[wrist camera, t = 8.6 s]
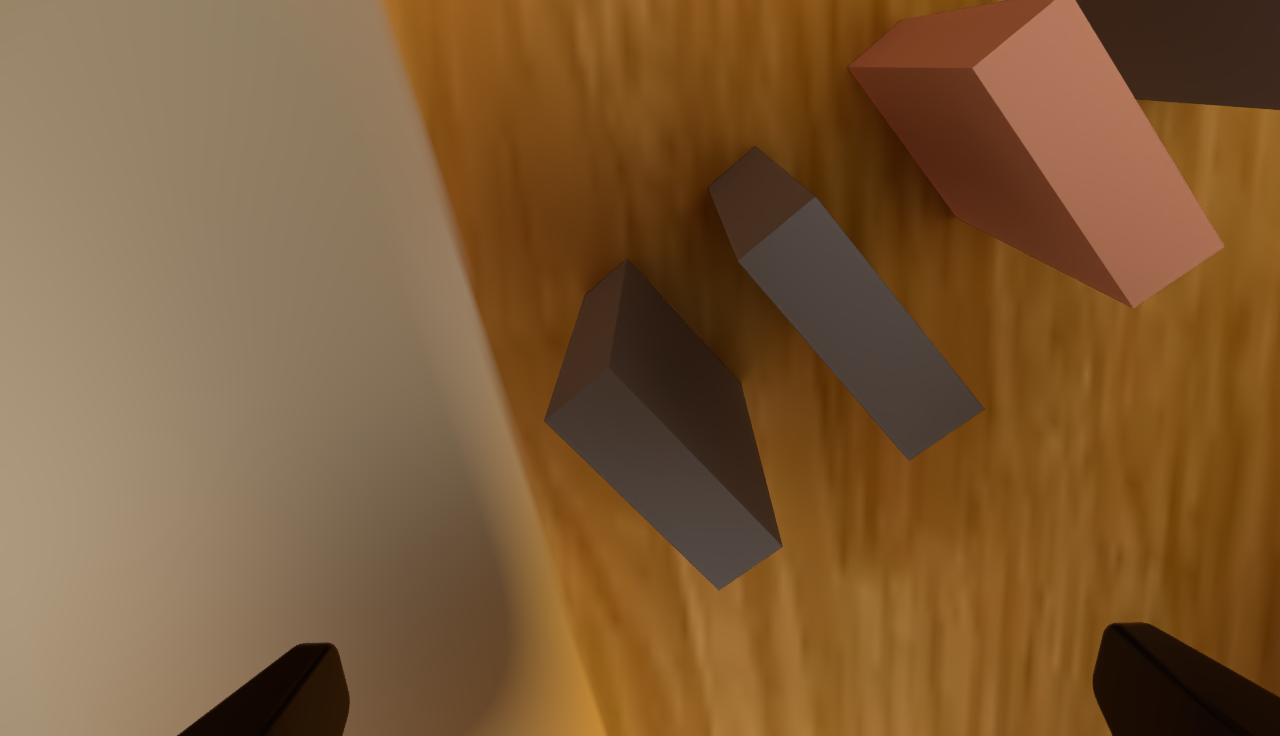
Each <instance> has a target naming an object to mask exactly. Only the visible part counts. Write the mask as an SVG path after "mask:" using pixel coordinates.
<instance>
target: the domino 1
mask: <svg viewBox="0 0 1280 736" xmlns="http://www.w3.org/2000/svg"><path fill="white" fill-rule="evenodd" d="M544 421H545V422H546V423H547V424H548V425H549V426H550V427H551V428H552V429H553V430H554V431H555V432H556V433H557V434H558V435H559V436H560V437H561V438H562V439H563V440H564V441H565V442H566V443H567V444H568V445H569V446H570V447H571V448H573V449H574V450H575V451H576V452H577V453H578V454H579V455H580V456H581V457H582V458H583V459H584V460H585V461H586V462H587V463H588V464H589V465H590V466H591V467H592V468H593V469H594V470H595V471H596V472H597V473H598V474H599V475H600V476H601V477H602V478H603V479H605V480H606V481H607V482H608V483H609V484H610V485H611V486H612V487H613V488H614V489H615V490H616V491H617V492H618V493H619V494H620V495H621V496H622V497H623V498H624V499H625V500H626V501H627V502H628V503H629V504H630V505H631V506H632V507H633V508H634V509H635V510H637V511H638V512H639V513H640V514H641V515H642V516H643V517H644V518H645V519H646V520H647V521H648V522H649V523H650V524H651V525H652V526H653V527H654V528H655V529H656V530H657V531H658V532H659V533H660V534H661V535H662V536H663V537H664V538H665V539H666V540H667V541H669V542H670V543H671V544H672V545H673V546H674V547H675V548H676V549H677V550H678V551H679V552H680V553H681V554H682V555H683V556H684V557H685V558H686V559H687V560H688V561H689V562H690V563H691V564H692V565H693V566H694V567H695V568H696V569H697V570H698V571H699V572H700V573H702V574H703V575H704V576H705V577H706V578H707V579H708V580H709V581H710V582H711V583H712V584H713V585H714V586H715V587H716V588H717V589H718V590H720V589H722V588H723V587H725V586H726V585H728V584H729V583H730V582H732V581H733V580H735V579H736V578H738V577H739V576H741V575H742V574H744V573H745V572H747V571H748V570H749V569H751V568H752V567H754V566H755V565H757V564H758V563H760V562H761V561H763V560H764V559H766V558H767V557H768V556H770V555H771V554H773V553H774V552H776V551H777V550H779V549H780V548H782V547H783V546H782V542H781V538H780V534H779V530H778V527H777V523H776V519H775V515H774V511H773V507H772V503H771V499H770V495H769V491H768V488H767V484H766V480H765V476H764V472H763V468H762V464H761V460H760V456H759V452H758V449H757V445H756V441H755V437H754V433H753V429H752V425H751V421H750V417H749V413H748V410H747V406H746V402H745V398H744V394H743V390H742V386H741V383H740V382H739V381H738V380H737V379H736V378H735V377H734V376H733V374H732V373H731V372H730V371H729V370H728V369H727V368H726V367H725V366H724V365H723V364H722V362H721V361H720V360H719V359H718V358H717V357H716V356H715V355H714V354H713V353H712V351H711V350H710V349H709V348H708V347H707V346H706V345H705V344H704V343H703V342H702V340H701V339H700V338H699V337H698V336H697V335H696V334H695V333H694V332H693V331H692V329H691V328H690V327H689V326H688V325H687V324H686V323H685V322H684V321H683V320H682V318H681V317H680V316H679V315H678V314H677V313H676V312H675V311H674V310H673V309H672V307H671V306H670V305H669V304H668V303H667V302H666V301H665V300H664V299H663V298H662V296H661V295H660V294H659V293H658V292H657V291H656V290H655V289H654V288H653V287H652V285H651V284H650V283H649V282H648V281H647V280H646V279H645V278H644V277H643V276H642V275H641V273H640V272H639V271H638V270H637V269H636V268H635V267H634V266H633V265H632V264H631V262H630V261H629V260H628V259H626V260H625V261H623V262H622V263H621V264H620V265H619V266H618V267H617V268H615V269H614V270H613V271H612V272H611V273H610V274H609V275H607V276H606V277H605V278H604V279H603V280H602V281H601V282H599V283H598V284H597V285H596V286H595V287H594V288H593V289H591V290H590V291H589V292H588V293H587V294H586V295H585V296H584V299H583V302H582V306H581V309H580V312H579V315H578V318H577V321H576V324H575V327H574V330H573V333H572V336H571V340H570V343H569V346H568V349H567V352H566V355H565V358H564V361H563V364H562V367H561V370H560V374H559V377H558V380H557V383H556V386H555V389H554V392H553V395H552V398H551V401H550V404H549V408H548V411H547V414H546V417H545V420H544Z"/></svg>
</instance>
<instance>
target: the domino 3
mask: <svg viewBox="0 0 1280 736" xmlns="http://www.w3.org/2000/svg"><path fill="white" fill-rule="evenodd" d="M847 68H848V69H849V70H850V72H851V73H852V74H853V76H854V77H855V79H856V80H857V81H858V83H859V84H860V85H861V87H862V88H863V90H864V91H865V92H866V94H867V95H868V96H869V98H870V99H871V101H872V102H873V103H874V105H875V106H876V107H877V109H878V110H879V112H880V113H881V114H882V116H883V117H884V119H885V120H886V121H887V123H888V124H889V125H890V127H891V128H892V130H893V131H894V132H895V134H896V135H897V136H898V138H899V139H900V141H901V142H902V143H903V145H904V146H905V147H906V149H907V150H908V152H909V153H910V154H911V156H912V157H913V158H914V160H915V161H916V163H917V164H918V165H919V167H920V168H921V169H922V171H923V172H924V174H925V175H926V176H927V178H928V179H929V180H930V182H931V183H932V185H933V186H934V187H935V189H936V190H937V191H938V193H939V194H940V196H941V197H942V198H943V200H944V201H945V202H946V204H947V205H948V207H949V208H950V209H951V211H952V212H953V214H954V215H955V216H956V218H958V219H960V220H962V221H963V222H965V223H967V224H969V225H971V226H973V227H975V228H977V229H979V230H981V231H983V232H985V233H987V234H989V235H991V236H993V237H995V238H997V239H999V240H1001V241H1003V242H1005V243H1006V244H1008V245H1010V246H1012V247H1014V248H1016V249H1018V250H1020V251H1022V252H1024V253H1026V254H1028V255H1030V256H1032V257H1034V258H1036V259H1038V260H1040V261H1042V262H1044V263H1046V264H1048V265H1049V266H1051V267H1053V268H1055V269H1057V270H1059V271H1061V272H1063V273H1065V274H1067V275H1069V276H1071V277H1073V278H1075V279H1077V280H1079V281H1081V282H1083V283H1085V284H1087V285H1089V286H1091V287H1092V288H1094V289H1096V290H1098V291H1100V292H1102V293H1104V294H1106V295H1108V296H1110V297H1112V298H1114V299H1116V300H1118V301H1120V302H1122V303H1124V304H1126V305H1128V306H1130V307H1132V308H1135V307H1137V306H1138V305H1140V304H1141V303H1143V302H1144V301H1145V300H1147V299H1148V298H1150V297H1151V296H1153V295H1154V294H1156V293H1157V292H1159V291H1160V290H1162V289H1163V288H1165V287H1166V286H1168V285H1169V284H1171V283H1172V282H1173V281H1175V280H1176V279H1178V278H1179V277H1181V276H1182V275H1184V274H1185V273H1187V272H1188V271H1190V270H1191V269H1193V268H1194V267H1196V266H1197V265H1199V264H1200V263H1201V262H1203V261H1204V260H1206V259H1207V258H1209V257H1210V256H1212V255H1213V254H1215V253H1216V252H1218V251H1219V250H1221V249H1222V248H1224V247H1225V246H1224V244H1223V243H1222V241H1221V239H1220V238H1219V236H1218V235H1217V233H1216V231H1215V230H1214V228H1213V226H1212V225H1211V223H1210V221H1209V220H1208V218H1207V216H1206V215H1205V213H1204V211H1203V210H1202V208H1201V206H1200V205H1199V203H1198V202H1197V200H1196V198H1195V197H1194V195H1193V193H1192V192H1191V190H1190V188H1189V187H1188V185H1187V183H1186V182H1185V180H1184V178H1183V177H1182V175H1181V174H1180V172H1179V170H1178V169H1177V167H1176V165H1175V164H1174V162H1173V160H1172V159H1171V157H1170V155H1169V154H1168V152H1167V150H1166V149H1165V147H1164V145H1163V144H1162V142H1161V141H1160V139H1159V137H1158V136H1157V134H1156V132H1155V131H1154V129H1153V127H1152V126H1151V124H1150V122H1149V121H1148V119H1147V117H1146V116H1145V114H1144V113H1143V111H1142V109H1141V108H1140V106H1139V104H1138V103H1137V101H1136V99H1135V98H1134V96H1133V94H1132V93H1131V91H1130V89H1129V88H1128V86H1127V84H1126V83H1125V81H1124V80H1123V78H1122V76H1121V75H1120V73H1119V71H1118V70H1117V68H1116V66H1115V65H1114V63H1113V61H1112V60H1111V58H1110V56H1109V55H1108V53H1107V52H1106V50H1105V48H1104V47H1103V45H1102V43H1101V42H1100V40H1099V38H1098V37H1097V35H1096V33H1095V32H1094V30H1093V28H1092V27H1091V25H1090V23H1089V22H1088V20H1087V19H1086V17H1085V15H1084V14H1083V12H1082V10H1081V9H1080V7H1079V5H1078V4H1077V2H1076V0H1007V1H1001V2H996V3H990V4H985V5H980V6H974V7H969V8H964V9H958V10H953V11H948V12H942V13H937V14H932V15H926V16H921V17H916V18H910V19H905V20H901V21H900V22H898V23H897V24H896V25H895V26H894V27H893V28H892V29H890V30H889V31H888V32H887V33H886V34H885V35H884V36H882V37H881V38H880V39H879V40H878V41H877V42H875V43H874V44H873V45H872V46H871V47H870V48H869V49H867V50H866V51H865V52H864V53H863V54H862V55H860V56H859V57H858V58H857V59H856V60H855V61H854V62H852V63H851V64H850V65H849V66H848V67H847Z"/></svg>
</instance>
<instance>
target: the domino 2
mask: <svg viewBox="0 0 1280 736" xmlns="http://www.w3.org/2000/svg"><path fill="white" fill-rule="evenodd" d="M708 189H709V192H710V194H711V197H712V199H713V202H714V204H715V206H716V209H717V211H718V214H719V216H720V219H721V221H722V224H723V226H724V229H725V231H726V233H727V236H728V238H729V241H730V243H731V246H732V248H733V251H734V253H735V256H736V258H737V260H738V262H739V263H740V264H741V265H742V267H743V268H744V269H745V270H746V271H747V272H748V274H749V275H750V276H751V277H752V278H753V279H754V281H755V282H756V283H757V284H758V285H759V286H760V288H761V289H762V290H763V291H764V292H765V293H766V295H767V296H768V297H769V298H770V299H771V300H772V302H773V303H774V304H775V305H776V306H777V307H778V309H779V310H780V311H781V312H782V313H783V314H784V316H785V317H786V318H787V319H788V320H789V321H790V323H791V324H792V325H793V326H794V327H795V328H796V330H797V331H798V332H799V333H800V334H801V335H802V337H803V338H804V339H805V340H806V341H807V342H808V344H809V345H810V346H811V347H812V348H813V349H814V351H815V352H816V353H817V354H818V355H819V356H820V358H821V359H822V360H823V361H824V362H825V363H826V365H827V366H828V367H829V368H830V369H831V370H832V372H833V373H834V374H835V375H836V376H837V377H838V379H839V380H840V381H841V382H842V383H843V384H844V386H845V387H846V388H847V389H848V390H849V391H850V393H851V394H852V395H853V396H854V397H855V398H856V400H857V401H858V402H859V403H860V404H861V405H862V407H863V408H864V409H865V410H866V411H867V412H868V414H869V415H870V416H871V417H872V418H873V419H874V421H875V422H876V423H877V424H878V425H879V426H880V428H881V429H882V430H883V431H884V432H885V433H886V435H887V436H888V437H889V438H890V439H891V440H892V442H893V443H894V444H895V445H896V446H897V447H898V449H899V450H900V451H901V452H902V453H903V454H904V456H905V457H906V458H907V459H908V460H909V461H910V460H911V459H912V458H914V457H915V456H917V455H918V454H920V453H921V452H923V451H924V450H926V449H927V448H929V447H930V446H931V445H933V444H934V443H936V442H937V441H939V440H940V439H942V438H943V437H945V436H946V435H947V434H949V433H950V432H952V431H953V430H955V429H956V428H958V427H959V426H961V425H962V424H964V423H965V422H966V421H968V420H969V419H971V418H972V417H974V416H975V415H977V414H978V413H980V412H981V411H983V410H984V408H983V406H982V405H981V404H980V403H979V401H978V400H977V399H976V398H975V396H974V395H973V394H972V393H971V391H970V390H969V389H968V387H967V386H966V385H965V384H964V382H963V381H962V380H961V379H960V377H959V376H958V375H957V374H956V372H955V371H954V370H953V369H952V367H951V366H950V365H949V364H948V362H947V361H946V360H945V359H944V357H943V356H942V355H941V353H940V352H939V351H938V350H937V348H936V347H935V346H934V345H933V343H932V342H931V341H930V340H929V338H928V337H927V336H926V335H925V333H924V332H923V331H922V330H921V328H920V327H919V326H918V325H917V323H916V322H915V321H914V319H913V318H912V317H911V316H910V314H909V313H908V312H907V311H906V309H905V308H904V307H903V306H902V304H901V303H900V302H899V301H898V299H897V298H896V297H895V296H894V294H893V293H892V292H891V291H890V289H889V288H888V287H887V285H886V284H885V283H884V282H883V280H882V279H881V278H880V277H879V275H878V274H877V273H876V272H875V270H874V269H873V268H872V267H871V265H870V264H869V263H868V262H867V260H866V259H865V258H864V257H863V255H862V254H861V253H860V251H859V250H858V249H857V248H856V246H855V245H854V244H853V243H852V241H851V240H850V239H849V238H848V236H847V235H846V234H845V233H844V231H843V230H842V229H841V228H840V226H839V225H838V224H837V223H836V221H835V220H834V219H833V217H832V216H831V215H830V214H829V212H828V211H827V210H826V209H825V207H824V206H823V205H822V204H821V202H820V201H819V200H818V199H817V197H816V196H815V195H813V194H812V193H811V192H810V191H809V190H807V189H806V188H805V187H804V186H803V185H801V184H800V183H799V182H798V181H797V180H795V179H794V178H793V177H792V176H791V175H789V174H788V173H787V172H786V171H785V170H783V169H782V168H781V167H780V166H779V165H777V164H776V163H775V162H774V161H773V160H771V159H770V158H769V157H768V156H767V155H765V154H764V153H763V152H762V151H761V150H759V149H758V148H757V147H756V146H755V147H754V148H752V149H751V150H750V151H749V152H748V153H747V154H746V155H744V156H743V157H742V158H741V159H740V160H739V161H738V162H736V163H735V164H734V165H733V166H732V167H731V168H730V169H728V170H727V171H726V172H725V173H724V174H723V175H722V176H720V177H719V178H718V179H717V180H716V181H715V182H714V183H712V184H711V185H710V186H709V187H708Z"/></svg>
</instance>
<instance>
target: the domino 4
mask: <svg viewBox="0 0 1280 736" xmlns="http://www.w3.org/2000/svg"><path fill="white" fill-rule="evenodd" d="M1076 2H1077V4H1078V5H1079V7H1080V9H1081V10H1082V12H1083V14H1084V15H1085V17H1086V19H1087V20H1088V22H1089V23H1090V25H1091V27H1092V28H1093V30H1094V32H1095V33H1096V35H1097V37H1098V38H1099V40H1100V42H1101V43H1102V45H1103V47H1104V48H1105V50H1106V52H1107V53H1108V55H1109V56H1110V58H1111V60H1112V61H1113V63H1114V65H1115V66H1116V68H1117V70H1118V71H1119V73H1120V75H1121V76H1122V78H1123V80H1124V81H1125V83H1126V84H1127V86H1128V88H1129V89H1130V91H1131V93H1132V94H1133V96H1134V98H1135V99H1139V100H1152V101H1166V102H1179V103H1193V104H1207V105H1220V106H1234V107H1247V108H1261V109H1274V110H1280V0H1076Z"/></svg>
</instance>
